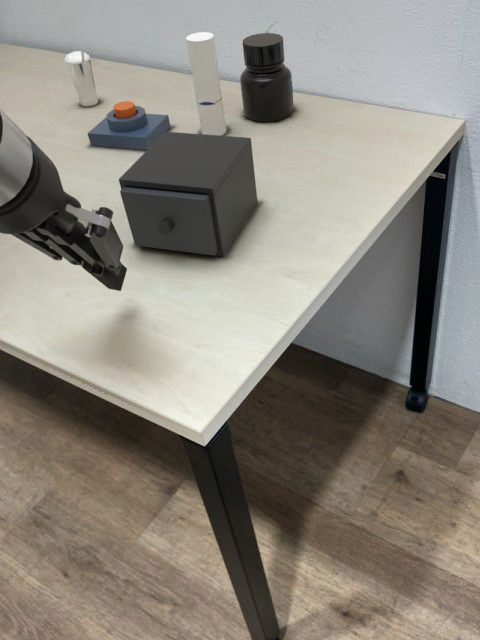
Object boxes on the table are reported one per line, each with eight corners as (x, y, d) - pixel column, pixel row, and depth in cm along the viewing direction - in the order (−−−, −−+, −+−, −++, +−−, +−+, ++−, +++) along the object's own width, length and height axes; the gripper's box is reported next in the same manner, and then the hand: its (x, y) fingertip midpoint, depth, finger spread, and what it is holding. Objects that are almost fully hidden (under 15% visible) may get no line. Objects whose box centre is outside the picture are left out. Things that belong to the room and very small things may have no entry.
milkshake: (87, 111, 115) (71, 54, 108) (73, 104, 118) (56, 48, 111) (108, 103, 117) (93, 47, 110) (94, 96, 120) (78, 41, 113)
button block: (90, 145, 104) (84, 122, 102) (115, 123, 110) (110, 101, 107) (148, 150, 102) (142, 126, 99) (170, 127, 107) (166, 104, 105)
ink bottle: (303, 106, 110) (300, 33, 101) (281, 126, 105) (276, 51, 96) (257, 99, 113) (250, 28, 105) (233, 118, 108) (223, 45, 100)
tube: (218, 124, 107) (204, 30, 96) (231, 131, 104) (218, 36, 94) (197, 131, 105) (181, 37, 95) (210, 139, 103) (195, 43, 92)
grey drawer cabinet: (223, 256, 78) (212, 188, 71) (136, 245, 82) (118, 179, 75) (257, 202, 87) (251, 137, 80) (178, 194, 90) (164, 131, 84)
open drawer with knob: (211, 261, 76) (201, 205, 71) (130, 250, 79) (114, 196, 74) (247, 205, 85) (241, 151, 80) (174, 197, 88) (163, 145, 83)
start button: (111, 119, 103) (109, 109, 101) (121, 110, 105) (119, 100, 104) (130, 120, 102) (128, 110, 100) (140, 112, 104) (138, 101, 103)
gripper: (82, 134, 46) (179, 256, 68) (-67, 115, 48) (75, 239, 71) (54, 226, 44) (163, 319, 67) (-98, 202, 47) (57, 300, 70)
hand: (118, 278), depth 69 cm, fingers closed
